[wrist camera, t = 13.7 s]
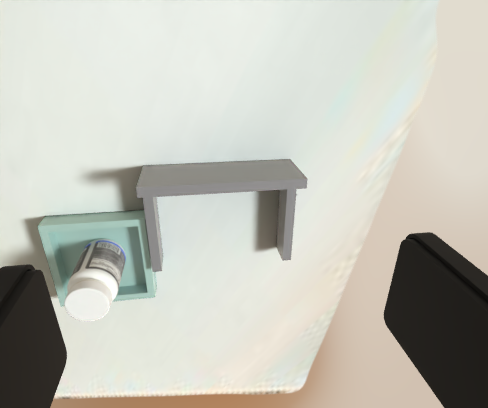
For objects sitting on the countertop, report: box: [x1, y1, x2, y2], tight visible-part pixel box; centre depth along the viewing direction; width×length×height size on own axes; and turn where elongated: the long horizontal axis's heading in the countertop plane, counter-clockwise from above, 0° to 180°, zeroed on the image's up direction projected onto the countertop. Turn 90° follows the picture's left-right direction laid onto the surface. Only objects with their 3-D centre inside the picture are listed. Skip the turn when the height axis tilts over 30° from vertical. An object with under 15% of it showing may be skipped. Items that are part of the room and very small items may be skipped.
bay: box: [136, 159, 307, 272], centre depth 37 cm, size 12×16×6 cm
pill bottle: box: [64, 239, 126, 322], centre depth 35 cm, size 5×5×8 cm
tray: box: [38, 210, 157, 306], centre depth 39 cm, size 11×11×2 cm
